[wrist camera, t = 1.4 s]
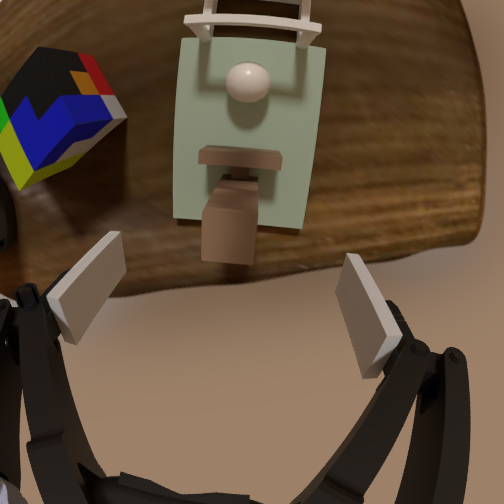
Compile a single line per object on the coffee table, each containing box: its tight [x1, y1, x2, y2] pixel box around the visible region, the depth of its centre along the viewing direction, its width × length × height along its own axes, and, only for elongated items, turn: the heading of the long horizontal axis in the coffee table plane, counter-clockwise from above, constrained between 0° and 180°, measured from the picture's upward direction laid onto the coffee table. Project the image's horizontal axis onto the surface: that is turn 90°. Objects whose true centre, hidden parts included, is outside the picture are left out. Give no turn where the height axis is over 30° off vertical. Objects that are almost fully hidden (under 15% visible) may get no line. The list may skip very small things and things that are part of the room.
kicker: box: [198, 145, 283, 265], centre depth 22 cm, size 7×6×11 cm
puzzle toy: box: [0, 47, 127, 191], centre depth 20 cm, size 10×10×10 cm
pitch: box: [173, 0, 326, 229], centre depth 21 cm, size 14×26×8 cm, turn 175°
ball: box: [225, 61, 271, 103], centre depth 21 cm, size 4×4×4 cm
